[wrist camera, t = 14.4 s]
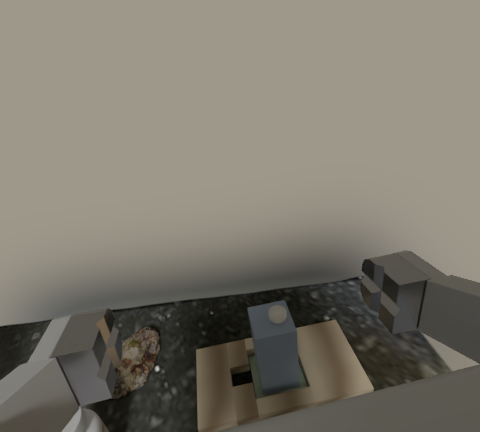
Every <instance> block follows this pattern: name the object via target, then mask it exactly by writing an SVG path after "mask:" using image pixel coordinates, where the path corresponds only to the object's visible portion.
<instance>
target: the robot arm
mask: <svg viewBox="0 0 480 432" xmlns="http://www.w3.org/2000/svg"><path fill="white" fill-rule="evenodd" d="M362 271H363V272H364V274H365V277H364V278H363V279H362V281H361V293H362V297H363V299H364V301H365V303H366V304H367V306H368V307H369V308H370V309H371V310H374V311H376V312H378V313H379V320H380V321H381V322H382V323H383V324H384V325H385V326H386V327H387V329H388V330H389V331H390V332H391V333H392V334H394V333H399V332H404V331H409V330H414V329H418V331H420V332H422V333H424V334H426V335H428V336H430V337H431V338H433V339H435V340H437V341H439V342H441V343H443V344H445V345H446V346H448V347H450V348H452V349H453V350H455V351H457V352H459V353H461V354H463V355H465V356H466V357H468V358H470V359H472V360H474V361H476V362H477V363H479V364H480V283H478V282H474V281H471V280H467V279H464V278H460V277H456V276H453V275H450V276H446V275H445V274H444V273H442V272H440V271H439V270H437V269H436V268H435V267H433V266H432V265H430V264H429V263H427V262H426V261H424V260H423V259H421V258H420V257H419V256H417V255H416V254H414V253H413V252H411V251H402V252H397V253H393V254H390V255H385V256H380V257H375V258H370V259H365V260H364V262H363V264H362ZM114 321H115V317H114V315H113V312H112V310H110V309H109V308H108V309H102V310H96V311H90V312H84V313H78V314H74V315H67V316H62V317H57V318H55V319H53V320H52V321H51V323H50V324H49V326H48V328H47V330H46V331H45V333H44V335H43V336H42V338H41V340H40V342H39V343H38V345H37V347H36V349H35V350H34V352H33V354H32V355H31V357H30V359H29V361H28V362H27V363H25V364H21V365H19V366H18V367H17V368H16V369H14V370H13V371H12V372H11V373H9V374H8V375H7V376H5V377H4V378H3V379H2V380H0V432H62V430H63V429H64V428H65V427H66V425H67V424H68V423H69V421H70V420H71V419H72V418H73V416H74V415H75V414H76V412H77V411H78V410H79V406H83V405H87V404H91V403H95V402H99V401H103V400H107V399H110V398H112V397H113V393H114V388H115V384H116V380H117V374H116V371H115V368H116V367H117V366H118V365H119V364H120V362H121V358H122V339H121V335H120V332H119V330H118V329H116V328H115V327H113V324H114ZM216 432H480V365H476V366H472V367H468V368H464V369H461V370H456V371H452V372H448V373H444V374H440V375H436V376H433V377H429V378H425V379H421V380H417V381H413V382H409V383H405V384H401V385H397V386H393V387H389V388H385V389H381V390H377V391H374V392H370V393H366V394H362V395H358V396H354V397H350V398H346V399H342V400H338V401H334V402H330V403H326V404H322V405H318V406H314V407H311V408H307V409H303V410H299V411H295V412H291V413H287V414H283V415H279V416H275V417H271V418H267V419H263V420H259V421H255V422H251V423H248V424H244V425H240V426H236V427H232V428H228V429H224V430H220V431H216Z"/></svg>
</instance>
